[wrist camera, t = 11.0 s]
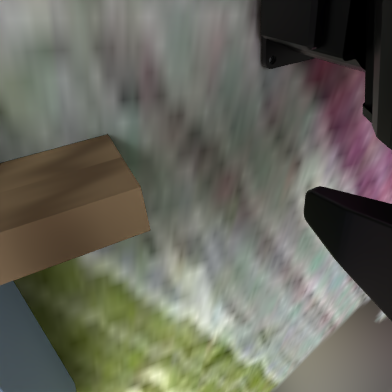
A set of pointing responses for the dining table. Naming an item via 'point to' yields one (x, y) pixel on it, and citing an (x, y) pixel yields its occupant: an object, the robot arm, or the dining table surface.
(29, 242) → the walnut slotted board
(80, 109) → the dining table surface
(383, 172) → the dining table surface
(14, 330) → the slate blue tapered plate
